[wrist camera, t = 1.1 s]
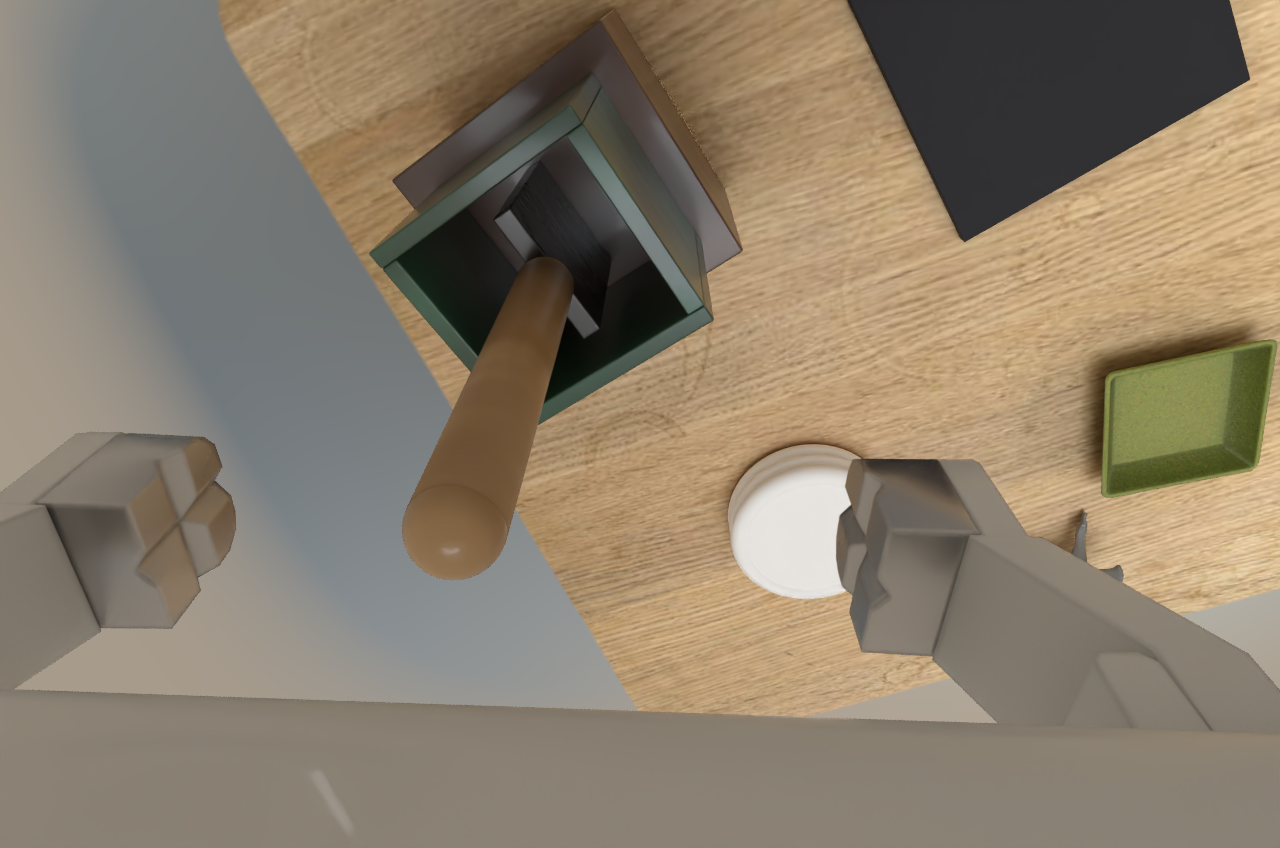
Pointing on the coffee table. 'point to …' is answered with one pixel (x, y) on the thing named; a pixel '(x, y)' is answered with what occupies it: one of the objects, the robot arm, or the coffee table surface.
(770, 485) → the white round tub
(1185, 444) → the green square dish
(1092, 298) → the coffee table surface
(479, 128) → the open box
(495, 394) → the spatula
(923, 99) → the mat
